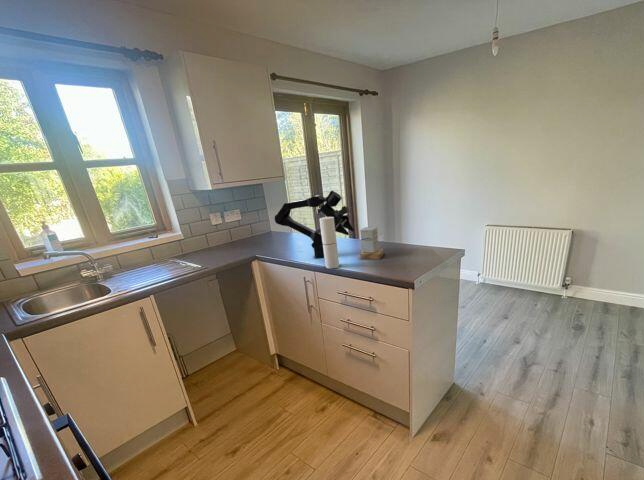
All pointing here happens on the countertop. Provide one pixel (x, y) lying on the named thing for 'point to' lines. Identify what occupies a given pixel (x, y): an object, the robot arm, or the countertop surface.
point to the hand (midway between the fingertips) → (351, 232)
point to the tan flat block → (372, 254)
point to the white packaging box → (369, 239)
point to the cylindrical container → (329, 242)
